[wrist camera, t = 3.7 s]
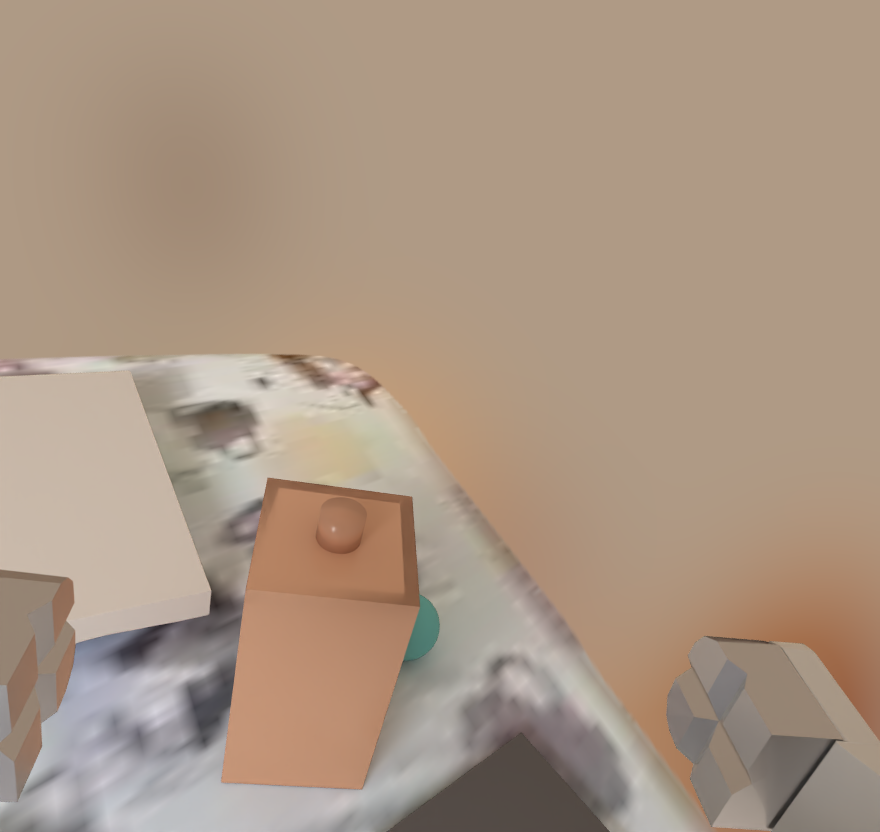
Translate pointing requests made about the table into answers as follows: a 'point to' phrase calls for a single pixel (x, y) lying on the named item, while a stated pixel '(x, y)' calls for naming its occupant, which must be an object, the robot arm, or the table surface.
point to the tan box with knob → (321, 634)
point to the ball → (423, 631)
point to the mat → (505, 798)
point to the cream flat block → (94, 503)
